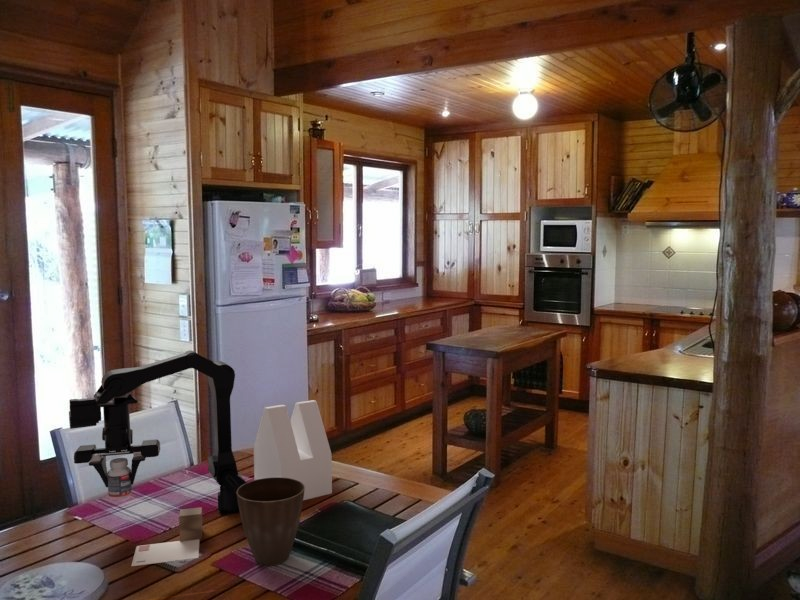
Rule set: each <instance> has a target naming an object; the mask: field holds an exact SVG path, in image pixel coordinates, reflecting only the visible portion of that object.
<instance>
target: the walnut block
mask: <svg viewBox="0 0 800 600" xmlns="http://www.w3.org/2000/svg"><path fill="white" fill-rule="evenodd" d="M178 515H179V516H178V525H179V541H180V542H181V541H189V540H197V539H200V540H202V539H203V508H202V507H191V508H183V509H182V508H181V509H180V510H179V514H178Z"/></svg>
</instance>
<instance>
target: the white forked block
mask: <svg viewBox="0 0 800 600" xmlns="http://www.w3.org/2000/svg"><path fill="white" fill-rule="evenodd" d="M318 404H319V403H318V401H317V400H315V399H312V400H306V401H305V400H304V401H298V402H295V404H294V408H293V411H292V414H291V417H290V415H289V414H290V413H289V410H288V407H287V405H285V404H278V405H272V406H264V408H263V412H262V415H261V419H260V423H259V426H258V430H257V433H256V438H255V440H254V444H253V474H254V475H253V476H254V479H253V481H254V480H258V479H263V478H275V477H279V478H290V479H294V480H298V481H300V482H301V483H303V484H304V486H305V490H304V498H303V501H306V500H310V499H315V498H318V497H322V496H326V495H331V494H332V493H333V471H332V469H333V466H332V465H333V463H332V461H333V460H332V459H333V458H332V455H333V454H332V451H331V446H330V444H329V439H328V437H327V436H328V435H327V433H326V429H325V426H324V425H325V424H324V422H323V419H322V418H323V417H322V415H321V412H320V408H319V405H318Z"/></svg>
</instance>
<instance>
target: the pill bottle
mask: <svg viewBox="0 0 800 600" xmlns="http://www.w3.org/2000/svg"><path fill="white" fill-rule="evenodd" d="M128 461H129V460H128V458H127V457H116V458H112V459H111V460H110V461H109V468H110V469H108V470H107V473H108V474H107V476H108V487H107V496H108V499H111V500H122V499H127V498H129V497H130V496H131V495H132V493H133V489H132V487H133V485H131V468H130V467H129V466H128V464H129V463H128Z"/></svg>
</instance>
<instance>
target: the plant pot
mask: <svg viewBox="0 0 800 600" xmlns="http://www.w3.org/2000/svg"><path fill="white" fill-rule="evenodd" d="M246 482H247V483H245V484H243V485H242V486H240V487H239V488H238V489H237V499H238V505H239V511H240V513H239V515H240V518H241V523H242V527H243V530H244V531H243V532H244V534H245V538H246V541H247V543H248V545H249V549H250V552H251V554H252V556H253V558H254V561H255V562H256V563H257V564H259V565H260V566H261V565H262V566H276V565H281V564H283V563H285V562H287V561H288V560H289V557H290V554H291V551H292V549H293V545H294V544H295V543H294V542H295V541H296V537H297V533H298V532H297V531H298V529H299V525H300V521H301V520H300V519H301V517H302V510H303V504H304V500H303V498H304V490H305V486H304V484H303V483H301V482H300V481H298V480H294V479H290V478H279V477H275V478H263V479H258V480H254V479H253V480H251V481H246Z"/></svg>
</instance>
